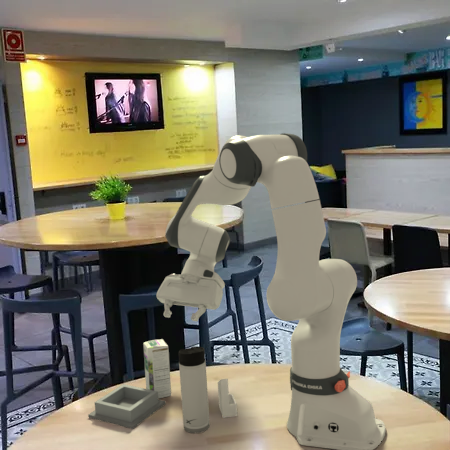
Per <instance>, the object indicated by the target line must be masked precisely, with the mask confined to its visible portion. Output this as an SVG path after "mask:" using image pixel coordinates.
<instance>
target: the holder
mask: <svg viewBox="0 0 450 450" xmlns="http://www.w3.org/2000/svg"><path fill="white" fill-rule="evenodd" d="M166 402H167V401H166V400H164V399H160V398H159V399H158V391H153V390H149V389H146V388H143V387H139V386H134V385H129V384H125V383H122V384H121V385H119V386H117V387H116V388H114V389H113V390H112V391H110V392H108V393H106V394H105V395H104V396H102V397H100V398H99V399H97V400H96V401H94V410H93V411H91V412H90V413H88V414H87V416H88V417H89V419H93V420H96V421H100V422H104V423H108V424H113V425H116V426H119V427H123V428H127V429H131V430H133V429H135V428H136V427H137V426H138V425H140V424H141V423H143V422H144V421H145V420H147V418H149V417H151V416H152V415H153V414H154V413H155V412H157V411H158V410H160V409H161V408H162V407H164V406H165V405H167V403H166ZM88 417H87V418H88Z"/></svg>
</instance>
